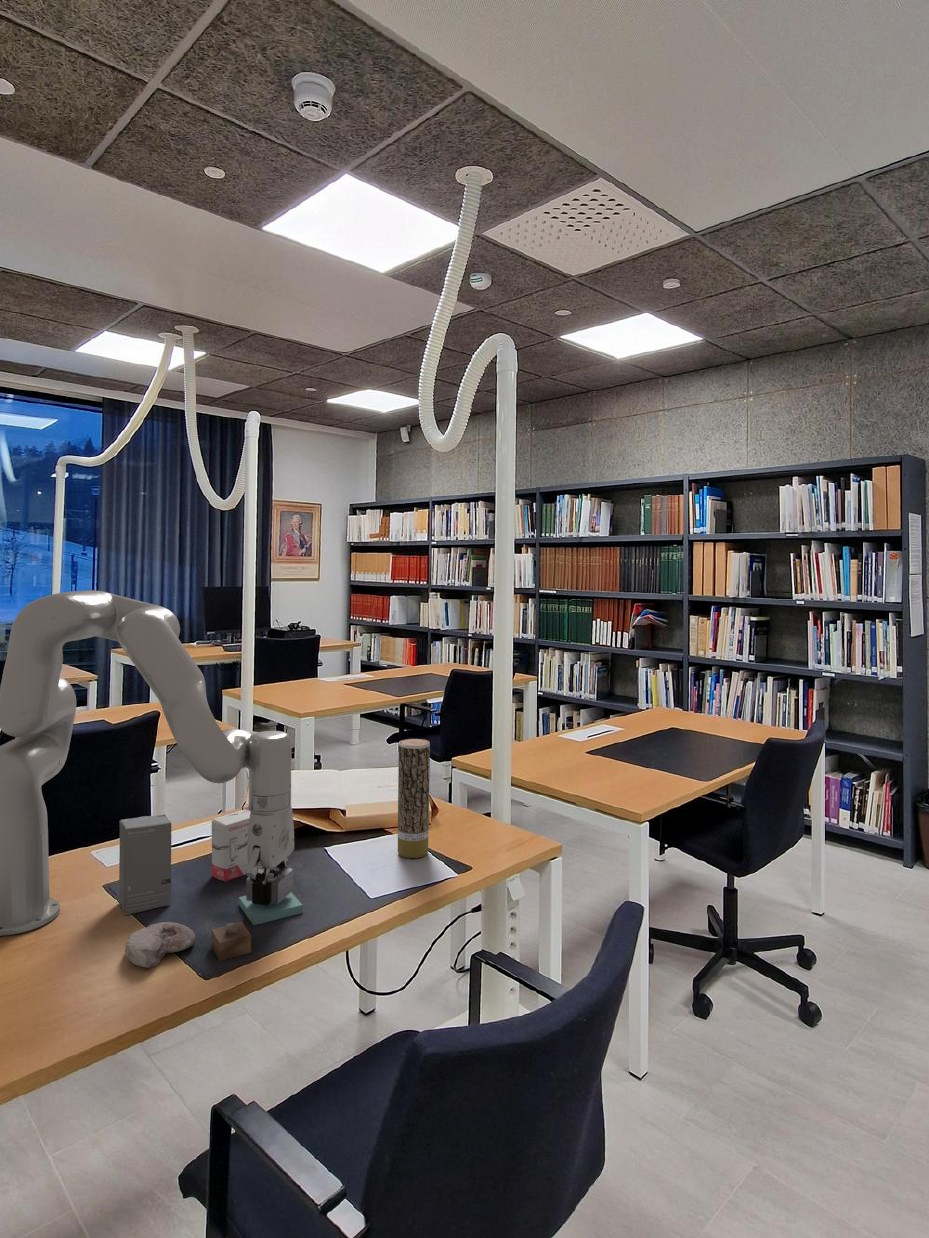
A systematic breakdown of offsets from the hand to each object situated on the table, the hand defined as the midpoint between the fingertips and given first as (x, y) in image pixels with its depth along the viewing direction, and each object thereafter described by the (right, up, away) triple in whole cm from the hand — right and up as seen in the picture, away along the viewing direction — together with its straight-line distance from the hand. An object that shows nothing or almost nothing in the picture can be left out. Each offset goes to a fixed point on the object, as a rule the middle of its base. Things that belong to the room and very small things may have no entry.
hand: (269, 894), depth 133 cm
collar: (0, 0, 0) cm, 0 cm away
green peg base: (0, -3, 0) cm, 3 cm away
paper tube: (+24, -1, +27) cm, 36 cm away
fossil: (-14, -4, -15) cm, 21 cm away
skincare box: (-24, -2, +2) cm, 24 cm away
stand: (-3, -4, -14) cm, 15 cm away
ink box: (-11, -2, +16) cm, 19 cm away
